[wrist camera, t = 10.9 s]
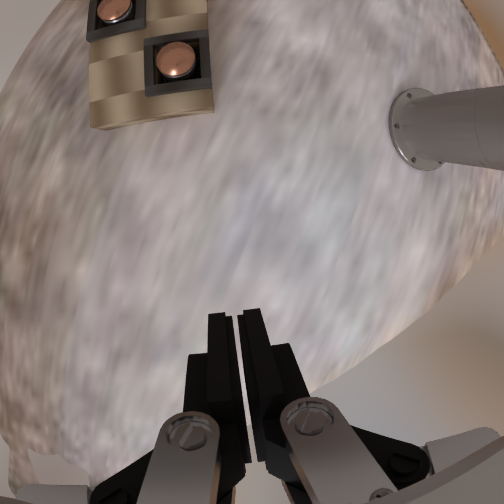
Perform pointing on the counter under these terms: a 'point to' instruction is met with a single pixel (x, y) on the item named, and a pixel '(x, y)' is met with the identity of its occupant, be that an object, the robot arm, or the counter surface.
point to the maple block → (146, 64)
